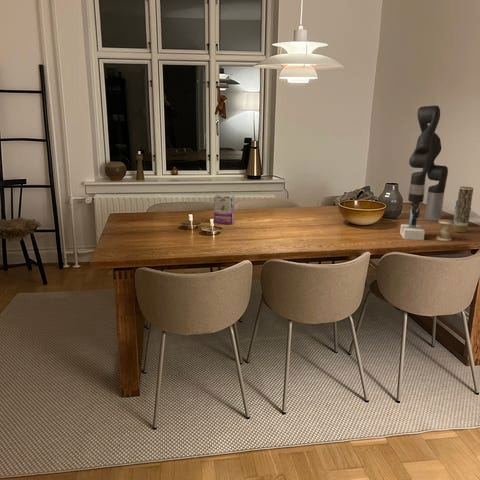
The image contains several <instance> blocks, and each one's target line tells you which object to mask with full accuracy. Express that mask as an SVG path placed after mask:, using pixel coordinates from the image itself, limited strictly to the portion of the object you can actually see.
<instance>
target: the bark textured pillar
mask: <svg viewBox="0 0 480 480" xmlns="http://www.w3.org/2000/svg"><path fill="white" fill-rule="evenodd" d="M473 193H474V187H472V186H459V190H458V194H459V196H457V200H458V203H457V210H456V217H455V224H454V225H453V232H456V233H459V232H460V234H461V233H462V234H464V233H467V231H468V227H469V222H470V216H469V214H471V210H470V208H471V209H472V207H471V206H472V200H473ZM468 221H469V222H468Z"/></svg>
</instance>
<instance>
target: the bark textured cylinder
mask: <svg viewBox="0 0 480 480" xmlns="http://www.w3.org/2000/svg"><path fill="white" fill-rule="evenodd" d="M458 196H459V193H458ZM458 196H457V197H458ZM457 203H458V199H457V200H456V202H455V206H454V214H453V221H454V224H455V217H456V210H457ZM471 210H472V207H471V208H470V211H471ZM470 214H471V213H470ZM470 214H469V217H470ZM469 222H470V220H469V221H468V223H469ZM454 224H453V225H452V226H454Z"/></svg>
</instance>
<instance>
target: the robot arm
mask: <svg viewBox="0 0 480 480" xmlns="http://www.w3.org/2000/svg"><path fill="white" fill-rule="evenodd" d="M416 115H417V121H418V125H419V128H420V132H421V133H420V134H419V136H418V138H417V142H416V146H415V148H414V151H413V152H412V154H411V156H410V157H409V160H408V164H409V166H410V167H411V168H414V169H422V170H421V171H417V172H413V173H411V176H410V177H411V178H410V184H409V190H408V197H407V198H408V199H407V201H408V202H410V203H409V213H410V212H411V210H412V212H411V213H412V223H411V225H417V222H416V220H417V221H418V219H419V217H420V211H421V209H420V205H419V204H420V203H423V202H424V199H425V191H426V189H425V185H426V178H427V179H429V181H437V182H438V183H437V184H435V185H430V186H429V187H428V189H427V198H426V204H425V205H426V206H425V212H424V220H426V221H431V222H438V221H439V220H440V219H442V213H443V212H442V211H443V205H444V196H445V189H446V185H447V179H448V176H449V175H448V174H449V168H448V167H447V166H446V165H439V164H438V165H437V164H435V160H436V159H437V158H438V156H439V155H440V154H441V151H442V142H441V138H440V136H439V135H438V134H437V133H435V132H436V131H437V127H438V124H439V122H440V120H441V119H440V118H441V108H440V107H439V105H425V106H421V107H419V108H418V110H417V114H416ZM413 212H414V213H413ZM415 215H416V216H415Z"/></svg>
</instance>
